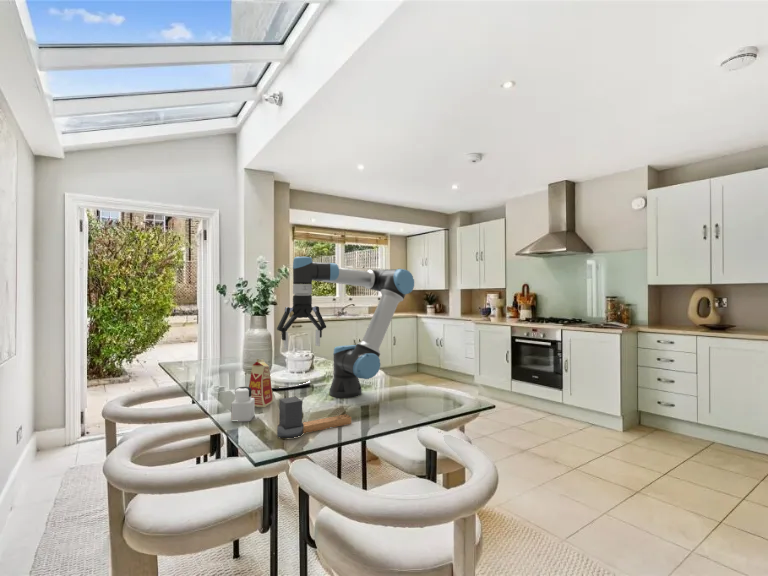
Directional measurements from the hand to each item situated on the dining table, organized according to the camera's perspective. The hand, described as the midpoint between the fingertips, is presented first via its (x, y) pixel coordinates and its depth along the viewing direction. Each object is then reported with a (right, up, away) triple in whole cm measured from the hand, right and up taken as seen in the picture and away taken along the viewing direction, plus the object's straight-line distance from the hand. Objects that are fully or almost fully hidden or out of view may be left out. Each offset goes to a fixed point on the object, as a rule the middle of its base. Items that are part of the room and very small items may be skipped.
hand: (302, 347), depth 164 cm
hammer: (+8, -27, -18) cm, 33 cm away
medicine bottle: (-21, -27, -7) cm, 35 cm away
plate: (-21, -26, +47) cm, 58 cm away
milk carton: (-21, -27, +12) cm, 36 cm away
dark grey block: (+1, -24, -23) cm, 33 cm away
